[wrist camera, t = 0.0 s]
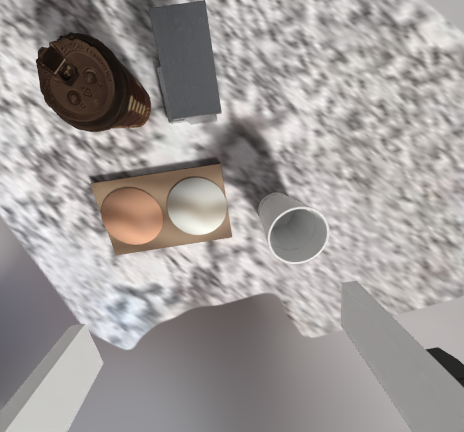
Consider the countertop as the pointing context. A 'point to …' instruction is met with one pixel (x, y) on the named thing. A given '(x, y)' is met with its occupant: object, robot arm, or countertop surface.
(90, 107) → the coffee cup
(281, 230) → the cup
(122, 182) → the walnut board
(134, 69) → the countertop surface
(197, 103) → the miniature fireplace
